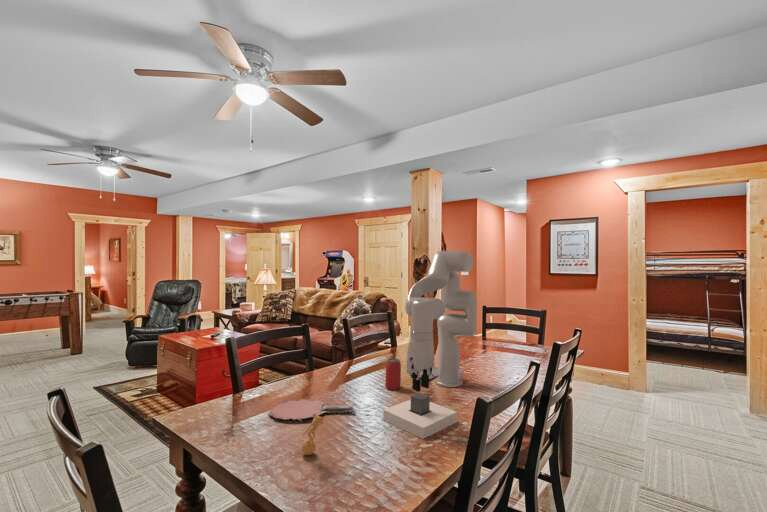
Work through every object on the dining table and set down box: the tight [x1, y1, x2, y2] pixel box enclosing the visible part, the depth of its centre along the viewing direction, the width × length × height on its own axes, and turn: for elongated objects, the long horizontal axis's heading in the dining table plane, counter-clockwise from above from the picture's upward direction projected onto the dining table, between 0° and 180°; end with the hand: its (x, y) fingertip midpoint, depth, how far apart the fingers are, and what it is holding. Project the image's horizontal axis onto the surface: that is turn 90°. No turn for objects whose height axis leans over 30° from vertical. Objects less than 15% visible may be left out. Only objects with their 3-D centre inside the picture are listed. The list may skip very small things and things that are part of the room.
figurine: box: [301, 413, 325, 456], centre depth 103 cm, size 8×6×12 cm
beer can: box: [384, 358, 402, 391], centre depth 158 cm, size 7×7×12 cm
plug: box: [410, 392, 431, 416], centre depth 126 cm, size 5×5×8 cm
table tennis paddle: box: [268, 398, 355, 424], centre depth 129 cm, size 18×29×3 cm, turn 74°
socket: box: [382, 399, 458, 440], centre depth 126 cm, size 18×18×4 cm
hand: (420, 388), depth 126 cm, fingers open, 3 cm apart
